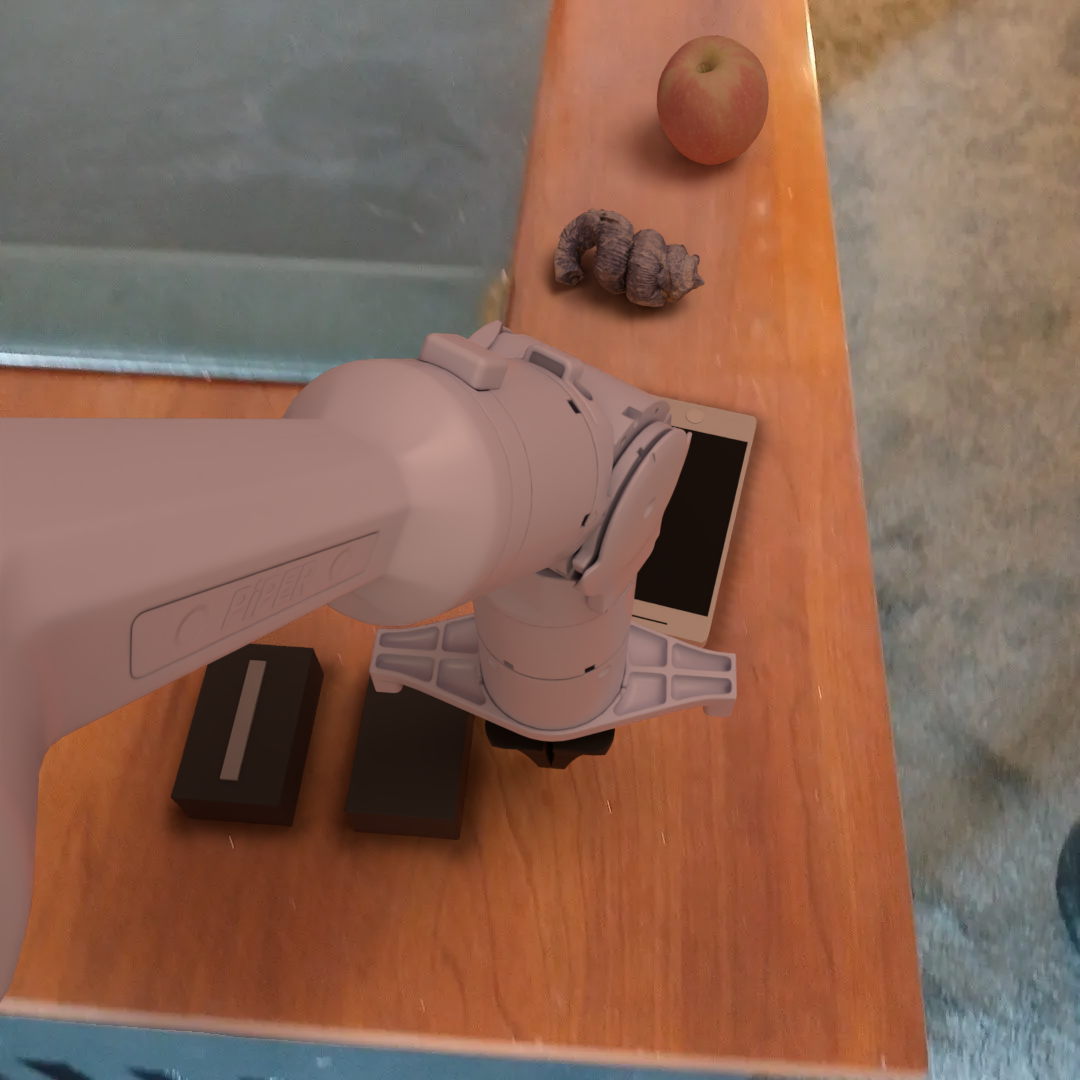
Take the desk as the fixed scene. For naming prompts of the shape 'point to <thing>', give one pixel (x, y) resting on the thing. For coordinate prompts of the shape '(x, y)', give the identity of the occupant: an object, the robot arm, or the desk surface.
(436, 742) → the pad
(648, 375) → the desk surface
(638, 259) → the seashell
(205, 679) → the pad
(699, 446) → the smartphone
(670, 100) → the apple
